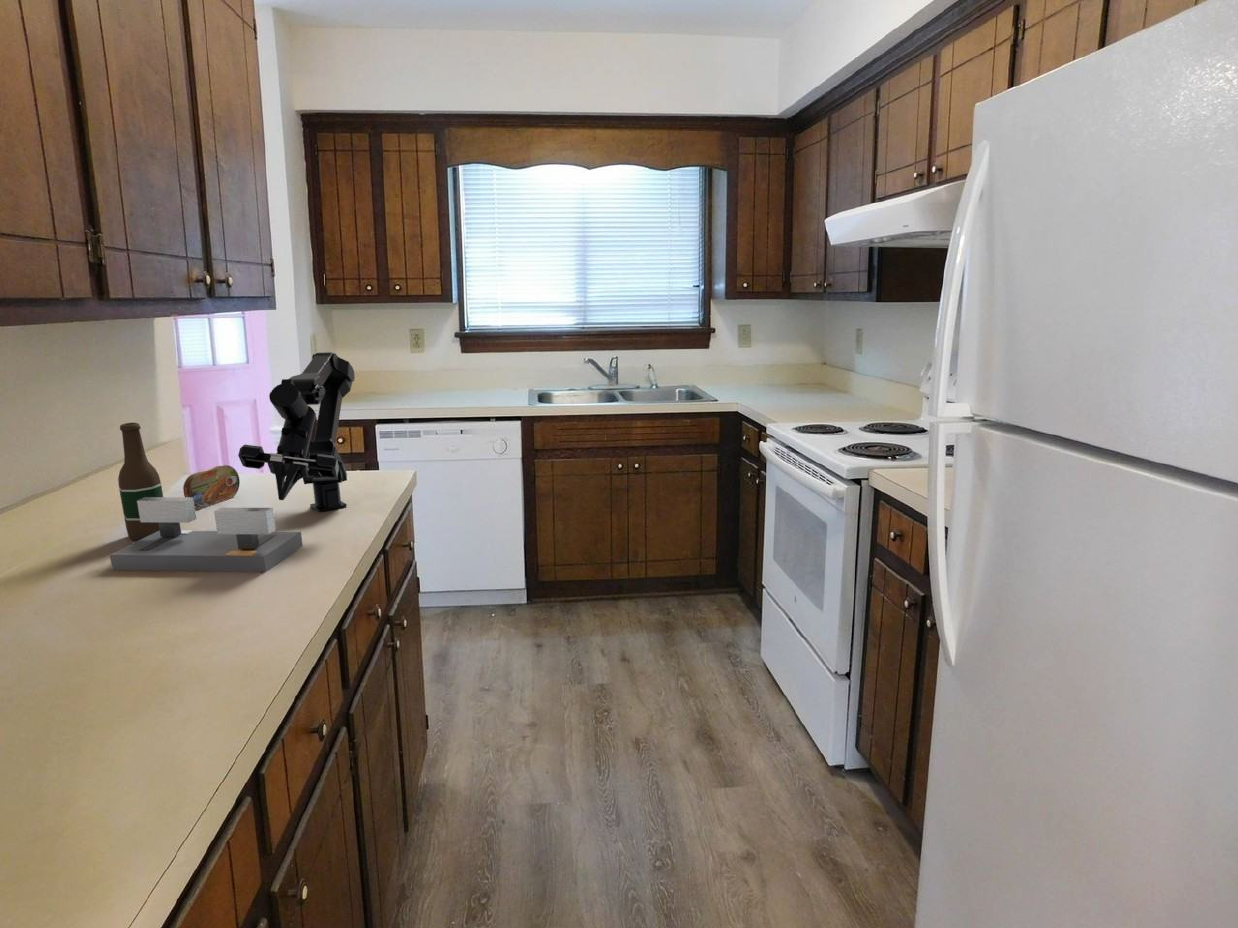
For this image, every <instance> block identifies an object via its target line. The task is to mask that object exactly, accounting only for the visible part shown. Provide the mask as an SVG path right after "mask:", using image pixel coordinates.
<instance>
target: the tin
mask: <svg viewBox="0 0 1238 928" xmlns="http://www.w3.org/2000/svg"><path fill="white" fill-rule="evenodd" d="M182 489H183V497H193V500H194V507H195V508H202V509H203V508H205V509H206V508H208V506H209V507H211V505H212V506H214V505H217V504H219V502H220V503H222V502H225V501H227V500H231V499H232V498H234V497H235V496H236V495H237V493H238V491H239V489H240V476H239V473H238V472H237V470H236V469H235V468H234V467H233V466H231V465H227V464H226V465H225V464H224V465H216V466H214V467H210V468H207V469H204V470H201V471H198V472H194V473H191V474H190V475H189V476H188V477H186V479H185V481H184V483H183V486H182ZM216 503H217V504H216Z"/></svg>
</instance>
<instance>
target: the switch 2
mask: <svg viewBox="0 0 1238 928" xmlns="http://www.w3.org/2000/svg"><path fill="white" fill-rule="evenodd" d="M213 514H214V519H215V527H216V531H217V534H236V537H237V544H238V549H255V548H257V547H258V546H259V539H258V534H271V533H272V532H274V531H275V532H276V529H277V528H276V522H275V515H274V514H275V513H274V507H220V508H218V509H216V510H214V511H213Z"/></svg>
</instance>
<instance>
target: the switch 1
mask: <svg viewBox="0 0 1238 928" xmlns="http://www.w3.org/2000/svg"><path fill="white" fill-rule="evenodd" d="M137 504H138V510H139V516H140V521H141V522H158V524H159V530H160V536H161V537H175V536H177V535H179V534H181V530H182V529H181V523H185V524H186V523H188V524H189V523H191V522H193V521H195V520H197V514H196V507H194V500H193V497H185V496H183V497H182V496H181V497H180V496H179V497H175V496H171V497H170V496H169V497H165V496H163V497H145V498H142V499H140V500H137Z"/></svg>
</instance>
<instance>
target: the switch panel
mask: <svg viewBox="0 0 1238 928" xmlns="http://www.w3.org/2000/svg"><path fill="white" fill-rule="evenodd" d="M258 539H259V546H258V547H257V548H255V549H238V544H237V537H236V534H217V530H193V529H189V530H187V529H185V530H183V529H181V534H179V535H177V536H175V537H161V536H160V531H157V532H155V533H153V534H151V535H149V536H147V537H145V538H143V539H141V540H139V541H135V542H133V543H131V544H129V545H127V546H125V547H122V548H121V549H118V550H117V551H115V552H113V553H112V552H111V554H109V558H110V563H111V567H112V568H111V569H112V571H166V572H167V571H168V572H169V571H170V572H171V571H172V572H173V571H175V572H177V571H182V572H184V571H185V572H189V571H190V572H248V573H249V572H251V573H252V572H255V573H256V572H258V573H261V572H263V573H265V572H268V571H269V570H271V569H272V568H274V567H275V566H276V565H278V564H279V563H280V562H282V561H283V560H285V559H286V558H288V557H289V556H291V555H292V554H294V553H295V552H296V551H298V550H299V549H301V548H302V547H303V546H304V545H303V538H302V532H301V531H276V530H275V531H274V532H272V533H271V534H258Z"/></svg>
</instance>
